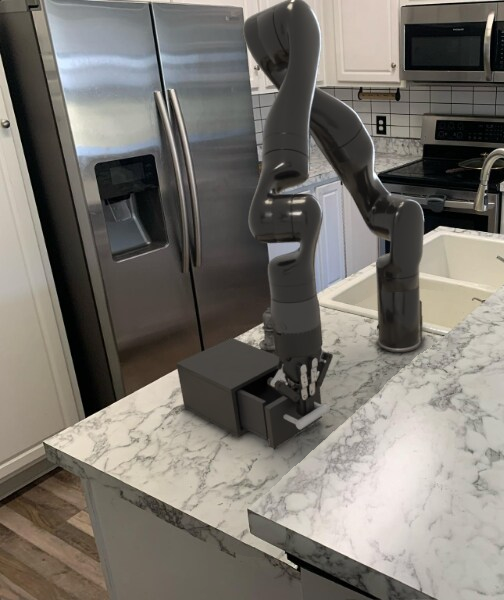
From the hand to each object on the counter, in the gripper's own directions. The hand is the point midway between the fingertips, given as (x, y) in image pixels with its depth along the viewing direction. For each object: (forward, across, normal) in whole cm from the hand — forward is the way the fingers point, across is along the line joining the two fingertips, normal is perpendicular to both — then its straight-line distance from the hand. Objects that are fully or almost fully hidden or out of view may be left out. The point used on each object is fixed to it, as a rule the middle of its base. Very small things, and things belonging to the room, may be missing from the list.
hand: (305, 414), depth 102 cm
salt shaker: (+6, -17, -27) cm, 33 cm away
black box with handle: (+4, 0, -7) cm, 8 cm away
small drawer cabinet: (+5, 0, -18) cm, 19 cm away
